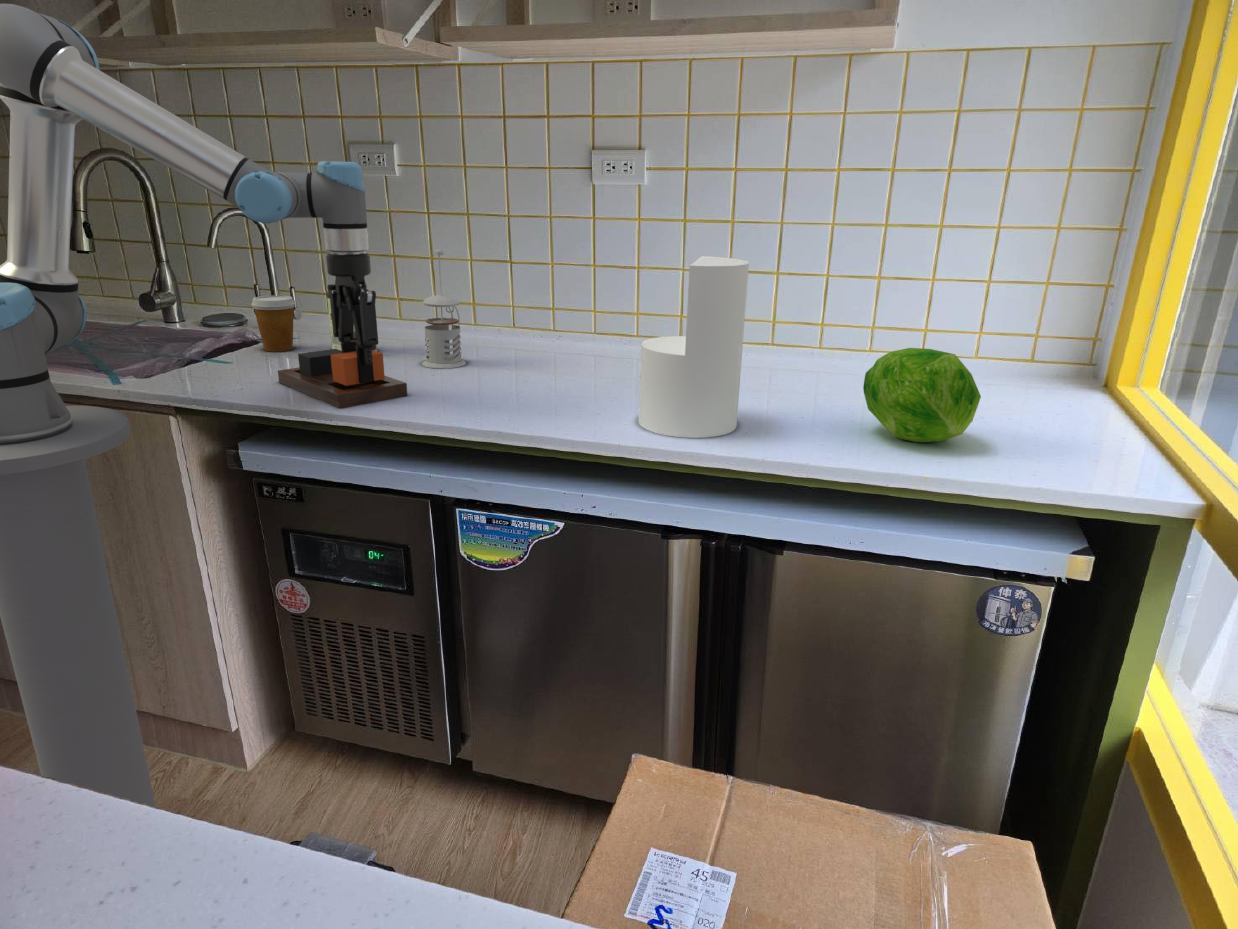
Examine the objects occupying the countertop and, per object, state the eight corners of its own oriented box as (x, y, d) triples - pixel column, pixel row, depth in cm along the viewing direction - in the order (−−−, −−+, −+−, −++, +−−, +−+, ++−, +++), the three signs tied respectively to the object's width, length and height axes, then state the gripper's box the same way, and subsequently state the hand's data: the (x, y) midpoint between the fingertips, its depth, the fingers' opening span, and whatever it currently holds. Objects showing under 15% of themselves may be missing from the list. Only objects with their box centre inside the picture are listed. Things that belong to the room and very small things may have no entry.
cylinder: (739, 414, 151) (751, 258, 142) (732, 441, 135) (745, 268, 126) (647, 406, 154) (653, 253, 145) (629, 432, 138) (635, 263, 129)
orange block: (346, 385, 151) (343, 359, 149) (333, 380, 154) (330, 354, 153) (384, 379, 156) (382, 353, 155) (371, 374, 160) (369, 349, 158)
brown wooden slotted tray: (339, 408, 148) (338, 394, 147) (278, 382, 164) (277, 370, 164) (407, 395, 157) (406, 382, 157) (343, 372, 174) (342, 361, 173)
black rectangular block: (312, 382, 161) (309, 357, 159) (300, 378, 164) (297, 353, 162) (349, 376, 166) (347, 352, 165) (337, 372, 170) (335, 348, 168)
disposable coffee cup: (300, 344, 200) (295, 294, 196) (299, 352, 192) (293, 300, 188) (258, 345, 197) (252, 295, 193) (255, 353, 189) (248, 301, 185)
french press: (413, 366, 181) (406, 249, 173) (438, 356, 192) (432, 245, 183) (454, 369, 179) (449, 252, 170) (476, 359, 189) (473, 247, 181)
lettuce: (1000, 439, 139) (968, 354, 145) (981, 405, 122) (944, 311, 128) (902, 473, 146) (874, 391, 152) (870, 445, 130) (841, 354, 136)
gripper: (392, 255, 144) (401, 384, 152) (342, 247, 156) (353, 367, 164) (353, 257, 139) (365, 391, 147) (304, 249, 151) (317, 373, 159)
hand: (358, 378), depth 155 cm, fingers closed on orange block, 5 cm apart
